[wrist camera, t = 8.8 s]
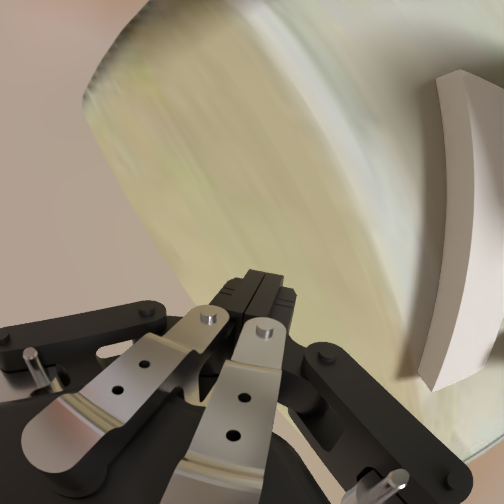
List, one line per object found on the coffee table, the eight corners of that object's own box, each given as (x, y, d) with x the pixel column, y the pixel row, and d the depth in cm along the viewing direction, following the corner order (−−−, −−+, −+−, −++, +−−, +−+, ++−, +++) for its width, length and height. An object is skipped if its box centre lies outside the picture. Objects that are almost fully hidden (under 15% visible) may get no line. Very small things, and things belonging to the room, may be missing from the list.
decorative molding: (487, 98, 19) (432, 79, 19) (514, 94, 14) (460, 69, 14) (466, 350, 28) (415, 369, 28) (483, 368, 24) (431, 392, 24)
